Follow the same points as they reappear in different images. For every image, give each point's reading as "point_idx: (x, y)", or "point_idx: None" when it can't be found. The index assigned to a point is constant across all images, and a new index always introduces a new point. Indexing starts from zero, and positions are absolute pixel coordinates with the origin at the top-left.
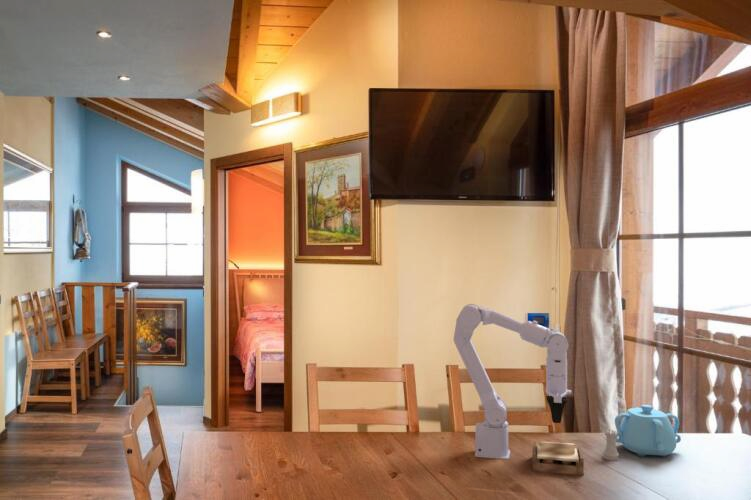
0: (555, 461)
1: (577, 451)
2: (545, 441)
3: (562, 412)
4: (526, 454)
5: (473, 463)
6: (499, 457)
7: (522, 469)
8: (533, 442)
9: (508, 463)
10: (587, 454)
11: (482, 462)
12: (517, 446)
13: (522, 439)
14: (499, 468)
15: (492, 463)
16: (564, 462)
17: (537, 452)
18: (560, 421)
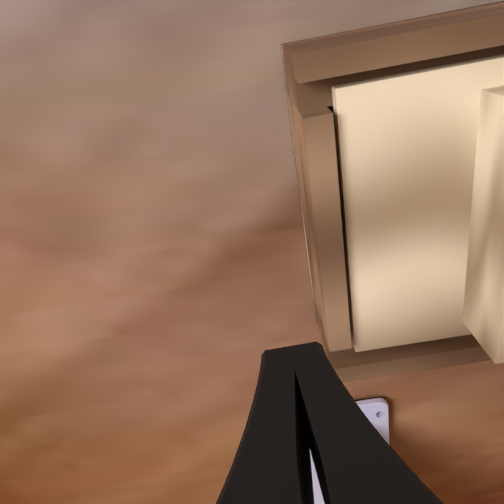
0: None
1: (361, 74)
2: (500, 333)
3: (386, 444)
4: (256, 351)
5: (457, 478)
6: (385, 432)
7: None
8: (340, 379)
9: (423, 387)
10: (52, 16)
11: (437, 460)
12: (149, 405)
13: (16, 409)
14: (500, 401)
15: (440, 432)
16: None
17: None
18: (325, 354)
